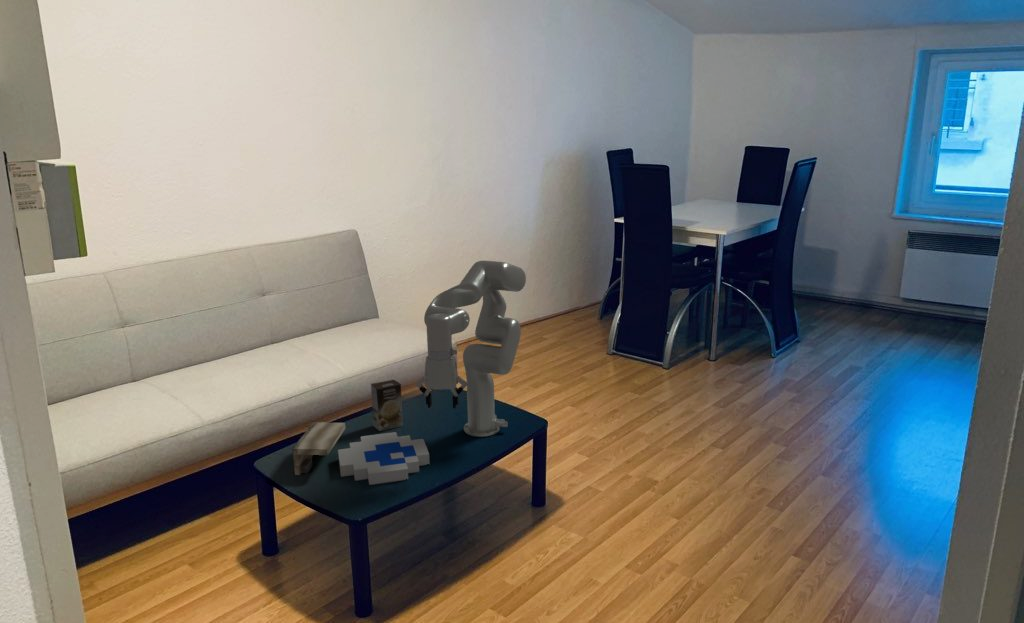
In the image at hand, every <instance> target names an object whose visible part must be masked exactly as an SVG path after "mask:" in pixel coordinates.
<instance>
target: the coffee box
mask: <svg viewBox="0 0 1024 623" xmlns="http://www.w3.org/2000/svg"><path fill="white" fill-rule="evenodd" d="M370 390H371V410H372V425H373V427H374V428H375V429H377V431H379V432H382V431H387V430H390V429H391V430H392V429H396V428H399V427H403V426H404V424H403V405H402V404H403V402H402V384H401V383H399V381H397V380H395V379H390V380H384V381H380V382H379V381H378V382H374V383H373V382H372V383H370Z"/></svg>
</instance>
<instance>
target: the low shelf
mask: <svg viewBox="0 0 1024 623" xmlns="http://www.w3.org/2000/svg"><path fill="white" fill-rule="evenodd" d="M345 430H346V423H345V422H324V421H322V422H319V421H318V422H316V421H315V422H314V421H313V422H312V423H311V424H310V425H309V426H308V428H307V429H306V430H305V432H304V434H303V435H302V436H301V437H300V439H298V441H297V443H296V444H295V445H294V446H293V447H292V456H293V457H292V458H293V466H294V475H296V476H300V475H301V474H303V473H304V474H307V473H309V472H310V470H311V468H312V467H313V465H314V464H313V457H314V456H313V455H319V456H329V454H330V452H331V451H332V449H333V448H334V446H335V445H336V443H337V442H338V441H339V439H340V437H342V434H343V433H344V432H345Z"/></svg>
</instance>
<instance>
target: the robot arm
mask: <svg viewBox="0 0 1024 623" xmlns="http://www.w3.org/2000/svg"><path fill="white" fill-rule="evenodd" d="M526 282H527V276H526V273H525V270H524V269H522V268H521V267H519V266H516V265H514V264H512V263H508V262H505V261H493V260H478V261H476V262H474V263H473V265H472V266H471V268H470V269H469V270H468V272H467V273H466V274H465V275H464V277H463V279H462V280H461V281H460V282H459V283H458V284H457V285H455V286H452V287H450V288H448V289H446V290H444V291H442V292H440V293H439V294H438V295H436V296H435V297H434V298H433V300H432V301H431V302H430V303H429V305H428V307H427V308H426V310H425V313H424V318H423V319H424V320H423V321H424V324H425V326H426V340H427V341H426V342H427V343H426V344H427V345H426V346H427V356H426V357H425V362H424V363H425V364H424V375H423V376H421V377H420V378H419V379H418V380H417V381H416V382H414V383H415V386H416V387H417V389H419V391H420V392H421V393H422V394H423V395H424V396H425V405H427V408H428V409H431V407H432V403H433V400H432V393H431V391H432V390H450V391H451V393H452V394H453V395H452V408H453V409H457V408H456V407H457V406H458V405H459V395H460V394H461V393H462V392H463V391H464V390H465V388H466V402H467V423H465V424H464V426H463V431H464V432H465V434H467V435H469V436H471V437H475V438H476V437H478V438H479V437H480V438H484V437H490V436H493V435H496V434H497V433H498V432H500V427H502V428H508V421H505V419H503V418H500V419H499V418H497V414H496V413H495V411H496V410H495V406H496V405H495V381H494V378H493V376H492V374H494V375H500V376H501V375H503V376H504V375H505V376H506V375H508V374H509V373H510V372H511V371H512V368H513V365H514V362H515V358H516V355H517V351H518V348H519V344H520V340H521V336H522V331H521V330H522V329H521V324H520V322H519V321H518V320H517V319H515V318H511V317H505V315H506V311H507V303H506V300H505V299H504V296H503V295H502V294H501V292H500V291H503V292H504V291H505V292H512V293H513V292H516V293H517V292H520V291H522V290H523V289H524V287H525V285H526ZM481 299H482V306H481V309H480V313H479V316H478V320H477V323H476V325H475V326H476V327H475V330H474V331H475V332H474V333H475V334H474V335H475V338H476V340H478V342H482V343H471V344H469V345H467V346H466V347H465V349H464V350H463V353H462V361H463V366H464V370H465V378H466V379H463V378H461V376H459V374H458V372H459V371H458V366H457V365H458V364H457V360H456V356H455V355H458V350H457V349H454V348H453V340H452V339H453V338H452V336H453V335H455V334H459V333H462V332H464V331H465V330H466V329H468V327H469V325H470V314H469V313H468V311H466V310H465V309H463V307H466V306H467V307H468V306H472V305H474V304H477V303H479V301H480V300H481ZM483 343H485V344H483ZM486 343H487V344H486ZM492 344H493V345H492ZM494 344H495V345H494ZM498 345H500V346H498ZM422 383H424V385H423V384H422ZM458 384H460V386H459V387H457V385H458Z"/></svg>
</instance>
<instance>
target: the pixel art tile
mask: <svg viewBox="0 0 1024 623" xmlns="http://www.w3.org/2000/svg"><path fill="white" fill-rule="evenodd" d="M337 455H338V465H339V472H340V477H347V476H354V481H363V480H368V485H371V486H373V485H378V484H386V483H393V482H398V481H399V482H400V481H406V479H407V480H409V474H412V473H419V472H420V466H426V465H427V464H429V465H430V453H429V450H428V447H427V445H426V443H425V440H424V438H418V439H412V438H411V436H410V434H408V435H402V436H401V435H400V436H398V434H397V432H396V431H394V432H386V433H385V432H384V433H378V434H377V433H375V434H369V435H363V436H360V441H355V442H349V447H348V448H341V449H337Z"/></svg>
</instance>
